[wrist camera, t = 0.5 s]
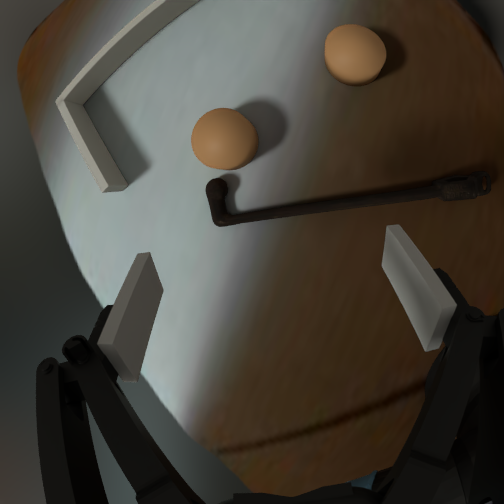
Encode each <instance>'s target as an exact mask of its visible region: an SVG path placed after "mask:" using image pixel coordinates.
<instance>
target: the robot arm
mask: <svg viewBox="0 0 504 504" xmlns="http://www.w3.org/2000/svg"><path fill="white" fill-rule="evenodd" d="M382 267H383V269H384V271H385V273H386V275H387V276H388V278H389V280H390V282H391V284H392V286H393V288H394V289H395V291H396V293H397V295H398V297H399V299H400V301H401V303H402V305H403V307H404V309H405V311H406V313H407V315H408V317H409V319H410V321H411V323H412V325H413V327H414V329H415V331H416V333H417V335H418V337H419V339H420V341H421V344H422V346H423V348H424V350H425V352H427V351H430V350H434V349H438V348H439V347H440V345H441V343H442V340H443V341H444V343H445V345H446V347H445V348H444V349H443V350H442V351H441V352H440V354H439V355H438V357H437V358H436V360H435V361H434V363H433V365H432V367H431V369H430V371H429V373H428V376H427V380H426V385H425V396H426V400H425V402H424V404H423V407H422V409H421V411H420V414H419V416H418V418H417V420H416V422H415V424H414V427H413V429H412V431H411V433H410V435H409V437H408V439H407V441H406V443H405V445H404V447H403V449H402V450H401V452H400V454H399V456H398V458H397V460H396V461H395V463H394V465H393V466H392V467H389V468H386V469H384V470H381V471H377V470H375V471H373V472H372V473H371V474H369V475H366V476H363V477H361V478H358V479H355V480H352V481H348V482H346V483H342V484H337V485H331V486H324V487H321V488H318V489H316V490H313V491H310V492H307V493H304V494H302V495H299V496H296V497H286V496H279V495H273V494H266V493H239V494H238V493H236V494H233V495H234V496H233V497H234V498H232V499H228V500H225V501H223V502H221V503H218V504H504V308H503V309H501V310H500V312H499V314H498V316H485V315H484V313H483V312H482V311H481V310H480V309H478V308H476V307H473V306H469V304H468V303H467V301H466V300H465V298H464V297H463V295H462V294H461V293H460V291H459V290H458V288H456V285H455V284H454V283H453V282H452V280H451V278H450V277H449V276H448V274H447V273H445V272H444V271H443V270H441V269H440V268H438V269H432V268H431V266H430V265H429V263H428V262H427V261H426V259H425V258H424V257H423V255H422V254H421V252H420V251H419V250H418V248H417V247H416V246H415V245H414V243H413V242H412V241H411V239H410V238H409V237H408V235H407V234H406V233H405V232H404V230H403V229H402V228H401V227H400V225H389V226H387V229H386V238H385V246H384V254H383V261H382ZM163 291H164V290H163V287H162V284H161V282H160V279H159V276H158V274H157V271H156V268H155V265H154V262H153V260H152V257H151V254H150V252H147V253H139V254H137V256H136V258H135V260H134V262H133V264H132V266H131V268H130V271H129V273H128V275H127V277H126V279H125V281H124V283H123V285H122V287H121V290H120V292H119V294H118V296H117V298H116V301H115V303H114V305H107V306H106V307H105V308H104V309H103V310H102V312H101V313H100V315H99V317H98V320H97V322H96V324H95V328H93V331H92V333H91V335H90V338H89V340H88V341H87V339H86V338H85V337H84V336H82V335H76V336H73V337H71V338H70V339H68V340H67V341H66V342H65V344H64V345H63V348H62V353H63V355H64V356H65V357H66V358H67V360H68V362H64V363H60V364H59V362H58V361H57V360H56V359H55V358H52V357H50V358H46V359H44V360H43V361H42V362H41V363H40V364H39V366H38V367H37V371H36V416H37V434H38V447H39V456H40V465H41V473H42V480H43V486H44V492H45V497H46V503H47V504H109V503H108V500H107V497H106V493H105V490H104V486H103V482H102V479H101V475H100V471H99V468H98V463H97V459H96V455H95V450H94V445H93V441H92V436H91V431H90V425H89V420H88V413H87V407H86V402H87V404H88V406H89V408H90V410H91V412H92V415H93V417H94V419H95V421H96V423H97V425H98V427H99V429H100V431H101V433H102V435H103V437H104V439H105V441H106V443H107V445H108V446H109V448H110V450H111V452H112V454H113V456H114V457H115V459H116V461H117V463H118V464H119V466H120V467H121V469H122V471H123V473H124V474H125V476H126V478H127V479H128V481H129V482H130V484H131V486H132V487H133V489H134V490H135V492H136V500H137V502H138V504H206V503H205V502H204V501H203V500H202V499H201V498H200V497H199V496H198V495H196V493H195V492H194V491H193V490H192V489H191V488H190V487H189V486H188V484H187V483H186V482H185V481H184V479H183V478H182V477H181V476H180V475H179V473H178V472H177V471H176V470H175V468H174V467H173V466H172V464H171V463H170V461H169V460H168V459H167V457H166V456H165V455H164V453H163V452H162V451H161V449H160V448H159V447H158V445H157V444H156V442H155V441H154V439H153V438H152V436H151V435H150V434H149V432H148V431H147V429H146V428H145V426H144V425H143V423H142V422H141V420H140V419H139V417H138V416H137V414H136V412H135V411H134V409H133V407H132V406H131V404H130V403H129V401H128V399H127V398H126V396H125V395H124V393H123V391H122V389H121V388H120V386H119V384H118V383H117V382H116V380H117V377H118V375H119V376H120V378H121V379H122V380H123V382H138V379H139V375H140V371H141V367H142V363H143V360H144V356H145V352H146V349H147V345H148V341H149V338H150V334H151V331H152V327H153V324H154V320H155V317H156V314H157V310H158V307H159V304H160V300H161V297H162V294H163ZM455 437H457V439H456V440H455Z"/></svg>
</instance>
